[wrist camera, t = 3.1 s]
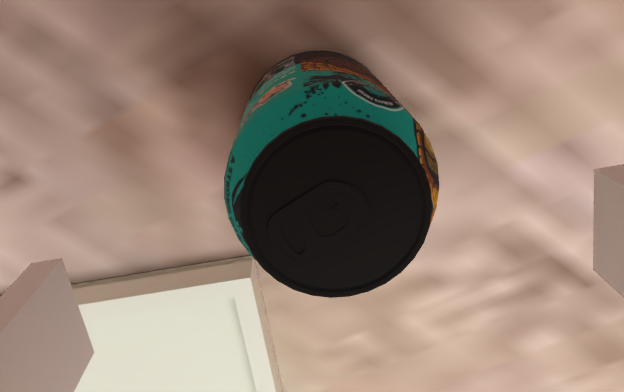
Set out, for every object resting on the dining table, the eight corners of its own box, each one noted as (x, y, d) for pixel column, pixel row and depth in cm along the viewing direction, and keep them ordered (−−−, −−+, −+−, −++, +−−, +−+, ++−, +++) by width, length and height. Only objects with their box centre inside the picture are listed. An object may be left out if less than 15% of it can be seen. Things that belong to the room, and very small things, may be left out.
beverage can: (415, 141, 29) (494, 242, 18) (298, 214, 30) (303, 353, 19) (339, 18, 27) (376, 44, 15) (217, 102, 28) (168, 182, 17)
